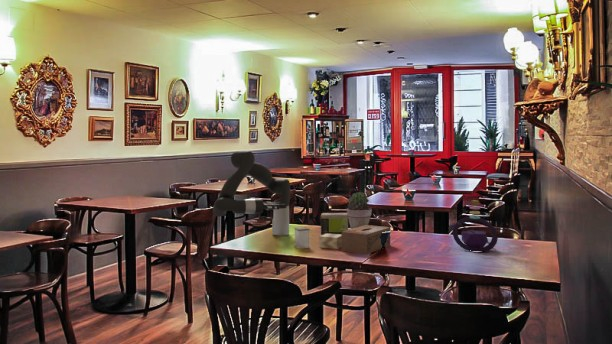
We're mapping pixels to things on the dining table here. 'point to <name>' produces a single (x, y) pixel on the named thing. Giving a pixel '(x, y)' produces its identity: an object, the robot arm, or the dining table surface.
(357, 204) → the potted plant
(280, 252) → the dining table surface
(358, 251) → the tissue box cover
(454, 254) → the dining table surface
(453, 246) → the dining table surface
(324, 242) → the chevron patterned box
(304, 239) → the canister
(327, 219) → the tea box
